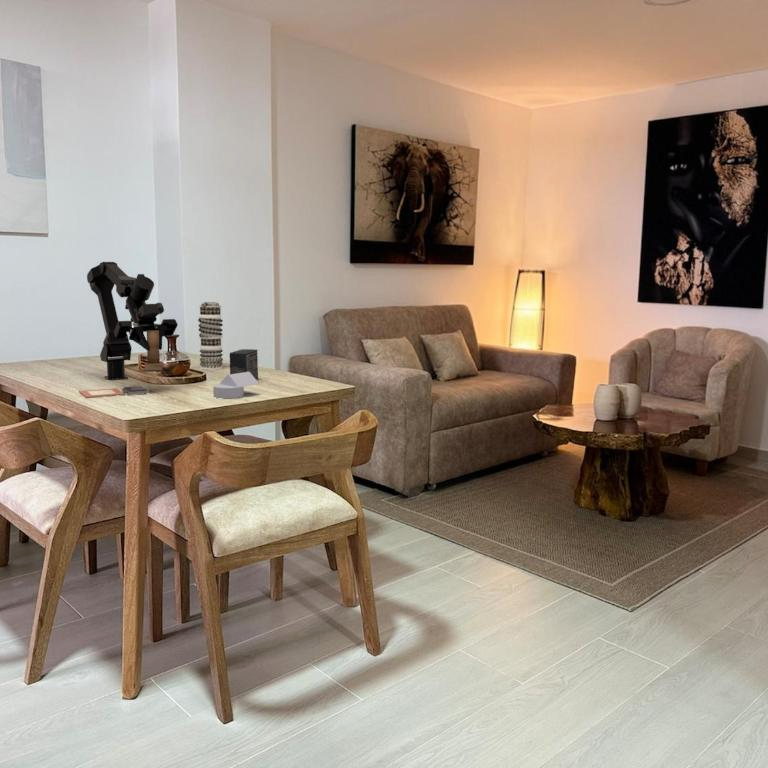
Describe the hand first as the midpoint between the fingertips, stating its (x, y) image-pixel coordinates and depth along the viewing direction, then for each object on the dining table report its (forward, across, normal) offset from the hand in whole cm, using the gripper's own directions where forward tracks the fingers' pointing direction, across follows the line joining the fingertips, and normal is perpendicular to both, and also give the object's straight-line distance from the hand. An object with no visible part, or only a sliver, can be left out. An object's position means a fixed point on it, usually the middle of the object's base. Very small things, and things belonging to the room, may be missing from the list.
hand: (154, 349), depth 225 cm
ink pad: (+7, -5, +12) cm, 15 cm away
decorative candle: (-16, +38, +35) cm, 54 cm away
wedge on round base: (+23, +17, -4) cm, 28 cm away
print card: (+5, -14, +14) cm, 21 cm away
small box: (+7, +33, +12) cm, 36 cm away
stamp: (+4, 0, +6) cm, 7 cm away
